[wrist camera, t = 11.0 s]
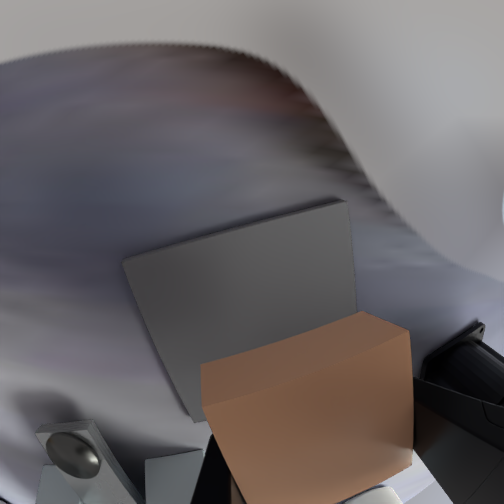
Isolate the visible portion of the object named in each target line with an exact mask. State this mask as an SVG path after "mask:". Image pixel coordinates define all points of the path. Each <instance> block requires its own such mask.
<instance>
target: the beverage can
mask: <svg viewBox="0 0 504 504" xmlns="http://www.w3.org/2000/svg"><path fill="white" fill-rule="evenodd" d="M344 504H403V503H402V502H401V500H400V499H399V497H398V496H397V494H396V493H395V491H394V490H393V488H391V487H382V488H375V489H372V490H369V491H366V492H364V493H362V494H360V495H358V496H356V497H354V498H352V499H350V500H348V501H347V502H345V503H344Z"/></svg>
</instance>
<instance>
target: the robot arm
mask: <svg viewBox="0 0 504 504" xmlns="http://www.w3.org/2000/svg"><path fill="white" fill-rule="evenodd" d="M484 331H485V324H483V323H482V322H479V323H478V324H476V325H475V326H474V327H472V328H471V329H469V330H468V331H466V332H465V333H463V334H462V335H460V336H459V337H457V338H456V339H454V340H453V341H451V342H449V343H448V344H446V345H445V346H443V347H441V348H440V349H438V350H437V351H435V352H433V353H432V354H430V355H428V356H427V357H426V358H425V360H424V362H423V366H422V372H421V377H420V379H418V378H415V377H413V406H414V424H413V449H414V451H415V452H416V453H417V455H418V456H419V457H420V459H421V460H422V461H423V463H424V464H425V466H426V467H427V468H428V470H429V471H430V472H431V474H432V475H433V476H434V478H435V479H436V480H437V482H438V483H439V485H440V486H441V487H442V489H443V490H444V491H445V493H446V494H447V495H448V497H449V498H450V499H451V501H452V502H453V504H504V357H503V356H501V355H500V354H499V353H497V352H496V351H495V350H493V349H492V348H490V347H489V346H488V345H486V344H485V343H484V342H482V339H483V335H484ZM190 504H247V503H246V501H245V499H244V497H243V495H242V493H241V491H240V489H239V487H238V485H237V483H236V481H235V479H234V477H233V475H232V473H231V471H230V469H229V467H228V465H227V463H226V461H225V459H224V457H223V454H222V452H221V450H220V448H219V446H218V444H217V441H216V439H215V437H214V435H213V434H212V435H211V436H210V439H209V442H208V446H207V449H206V453H205V456H204V459H203V463H202V466H201V469H200V473H199V476H198V479H197V483H196V486H195V489H194V492H193V496H192V499H191V502H190Z"/></svg>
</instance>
